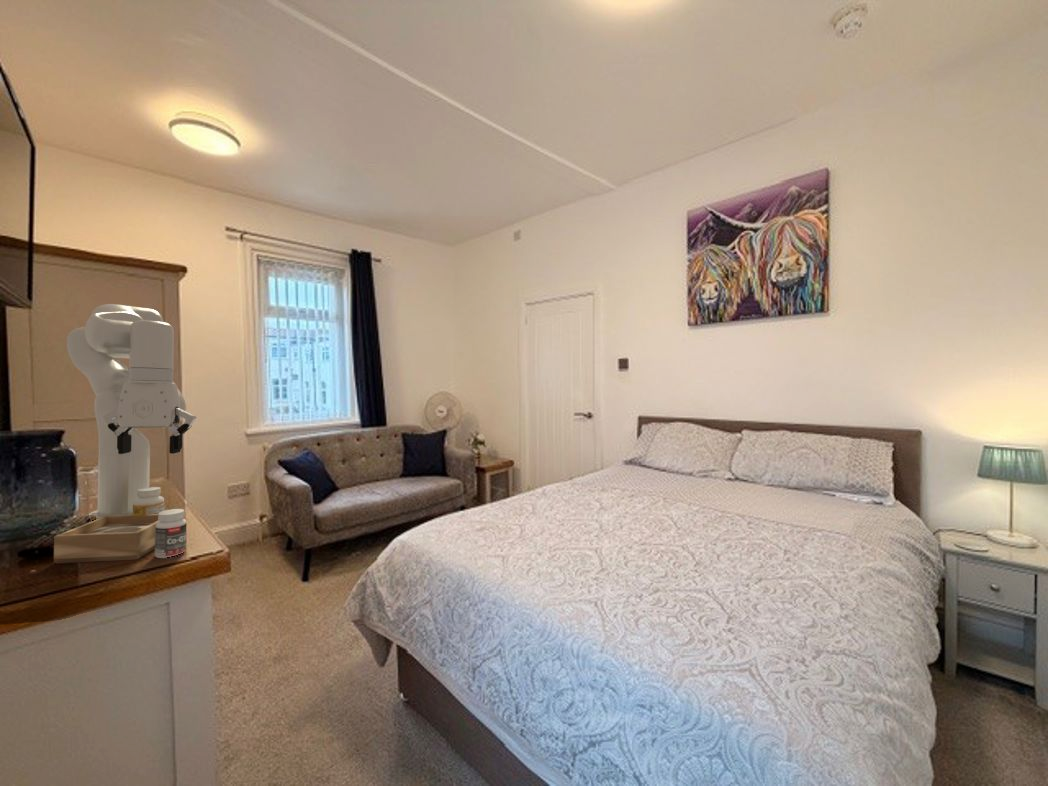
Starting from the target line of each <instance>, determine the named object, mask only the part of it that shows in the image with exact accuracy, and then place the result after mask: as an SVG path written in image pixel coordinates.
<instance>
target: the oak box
mask: <svg viewBox="0 0 1048 786" xmlns="http://www.w3.org/2000/svg"><path fill="white" fill-rule="evenodd" d="M158 522H160V521H158V514H144V515H113V516H103V517H101V518H98V519H96V520H94V521H92V520H90V521H89V522H86V523H84V524H82V525H79V526H76V527H74V528H72V529H69V530H67V531H64V532H62V533H59V534H57V535H54V537H53V538H54V539H53V564H54V563H56V564H71V563H72V564H73V563H89V562H90V563H92V562H110V561H111V562H112V561H115V562H116V561H130V560H132V561H133V560H138V559H140V558H142V557H143V556H145V555H147V554H149V553H150V552H151V551H153V550H154V551H155V528H156V524H157V523H158Z"/></svg>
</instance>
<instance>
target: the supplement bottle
mask: <svg viewBox="0 0 1048 786" xmlns="http://www.w3.org/2000/svg"><path fill="white" fill-rule="evenodd" d="M161 490H162V489H161V487H160V486H149V487H147V488H141V489H138V490H137V496H138V497H139V498H137V499H136V500H134V502H133V515H144V514H158V513H159V512H162V511H165V498H164V497H163V496H161V493H162V491H161Z"/></svg>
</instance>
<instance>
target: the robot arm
mask: <svg viewBox="0 0 1048 786" xmlns="http://www.w3.org/2000/svg"><path fill="white" fill-rule="evenodd" d="M66 338H67V339H66V348H67V352H68V356H69V358H70V360H71V362H72V364H73V365H74V367H75V368H76V369H77V370H78V371H79V372H80V373H81V374H83V375H84V376H85V377H86V378H87V380H88V382H89V385H90V387H91V389H92V391H93V392H94V394H95V396H96V397H95V399H94V402H93V404H94V405H93V408H94V415H95V416H94V417H95V420H96V425H97V427H96V428H97V432H98V433H97V435H98V463H97V464H98V465H97V509H95V510H93V511H90V512H89V513H88V515H94V516H96V518H97V519H98V518H101V517H103V516H113V515H133V502H134V500H136V499H137V498H139V497H138V496H137V490H138V489H141V488H147V487H150V473H151V472H150V469H151V468H150V467H151V464H150V463H151V462H150V461H151V444H150V441H149V439H148V438H147V436H145V435H144V434H143V433H142V432H141V431H140V430H139V429H138V428H140V429H141V428H142V429H144V428H145V429H152V428H153V429H155V428H158V429H159V428H160V429H161V428H163V429H164V428H166V429H167V430H168V431H169V432H170V433H171V435H170V436H169V450H168V451H169V454H172V455H173V454H177V453H180V452H181V450H182V449H183V436H184V435H185V434H186V432H187V431H188V430H190V429H191V428H192V425H193V424H194V422H195V421H196V419H197V416H196V415H194V414H192V413H190V412H187V404H186V400H185V398H184V395H183V394H182V392H181V390H180V389H179V388H178V386H177V383H175V381H174V362H175V361H174V360H175V358H174V356H175V355H174V354H175V349H174V348H175V330H174V327H173V325H171V324H169V323H168V322H164V318H163V316H162V315H161V313H160V312H158V311H157V310H155V309H152V308H147V307H140V306H131V305H124V304H117V303H116V304H114V303H107V304H105V303H104V304H102V305H101V304H100V305H98V306H97V307H95V308H94V309H93V310H92V312H91V314H90V316H89V318H88V319H87V321H86V323H85V326H81V327H77V328H74V329H73V330H71V331H70V332H69V333H68V335H67V337H66ZM120 359H128V360H129V365H128V366H129V367H128V366H127V365H126V364H125V363H124V362H122V361H121V360H120ZM183 419H185V420H184V423H183V424H182V425H180V422H181V421H182V420H183Z"/></svg>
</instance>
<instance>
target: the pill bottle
mask: <svg viewBox="0 0 1048 786" xmlns="http://www.w3.org/2000/svg"><path fill="white" fill-rule="evenodd" d="M158 521H160V522H158V523H157V524H156V528H155V549H154V556H155V557H156V558H158V559H168V558H167V557H170V558H172V557H171V556H174V555H178V554H180V553H183V552H184V551H185V550H186V549H187V521H186V519H185V509H184V508H172V509H164V511H162V512H159V513H158ZM185 552H186V551H185ZM185 552H184V553H185ZM184 553H183V554H184ZM178 556H179V555H178Z"/></svg>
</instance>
